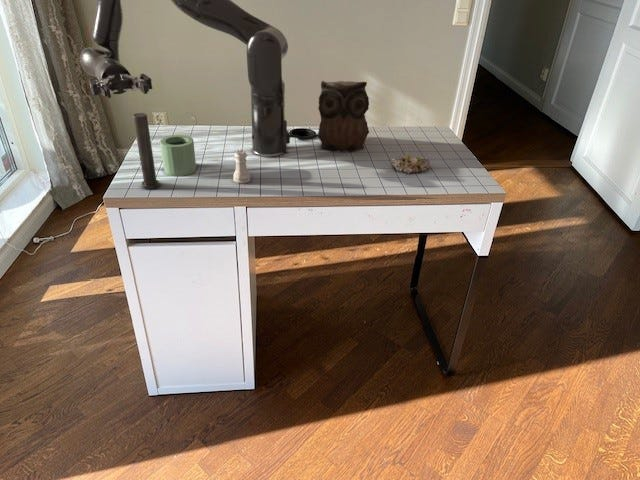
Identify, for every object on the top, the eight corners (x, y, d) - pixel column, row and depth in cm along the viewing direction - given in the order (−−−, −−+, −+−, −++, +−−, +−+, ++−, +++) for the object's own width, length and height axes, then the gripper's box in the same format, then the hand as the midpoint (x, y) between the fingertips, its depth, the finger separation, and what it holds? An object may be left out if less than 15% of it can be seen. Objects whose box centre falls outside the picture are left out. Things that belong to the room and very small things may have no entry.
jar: (193, 161, 134) (190, 133, 130) (198, 173, 128) (195, 145, 124) (162, 164, 132) (158, 136, 127) (166, 177, 125) (162, 148, 121)
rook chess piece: (247, 185, 124) (246, 155, 119) (230, 183, 124) (228, 153, 120) (252, 178, 127) (252, 149, 123) (236, 175, 128) (235, 147, 124)
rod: (158, 181, 123) (148, 111, 113) (160, 188, 120) (149, 117, 110) (141, 183, 122) (130, 112, 112) (143, 190, 119) (131, 118, 109)
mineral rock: (397, 167, 132) (391, 148, 137) (393, 179, 135) (388, 160, 140) (435, 168, 133) (428, 149, 138) (430, 180, 136) (424, 161, 142)
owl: (368, 148, 148) (376, 81, 137) (339, 158, 141) (345, 88, 130) (339, 136, 156) (343, 71, 145) (310, 145, 148) (312, 78, 137)
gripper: (80, 63, 124) (92, 79, 113) (138, 58, 131) (155, 73, 119) (87, 93, 128) (99, 111, 117) (142, 87, 135) (159, 103, 123)
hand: (127, 91), depth 118 cm, fingers open, 8 cm apart
